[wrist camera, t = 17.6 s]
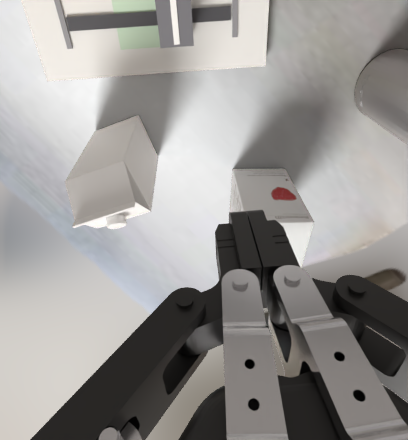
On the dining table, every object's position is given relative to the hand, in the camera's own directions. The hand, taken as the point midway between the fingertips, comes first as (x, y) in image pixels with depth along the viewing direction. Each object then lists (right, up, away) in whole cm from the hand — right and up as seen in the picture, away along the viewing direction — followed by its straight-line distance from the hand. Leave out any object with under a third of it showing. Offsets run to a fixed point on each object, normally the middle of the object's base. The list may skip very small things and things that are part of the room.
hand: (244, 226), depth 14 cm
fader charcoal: (-5, +24, +22) cm, 33 cm away
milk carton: (-13, +12, +34) cm, 39 cm away
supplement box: (+7, +5, +40) cm, 41 cm away
